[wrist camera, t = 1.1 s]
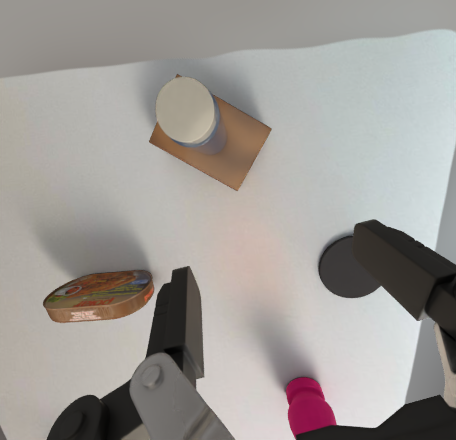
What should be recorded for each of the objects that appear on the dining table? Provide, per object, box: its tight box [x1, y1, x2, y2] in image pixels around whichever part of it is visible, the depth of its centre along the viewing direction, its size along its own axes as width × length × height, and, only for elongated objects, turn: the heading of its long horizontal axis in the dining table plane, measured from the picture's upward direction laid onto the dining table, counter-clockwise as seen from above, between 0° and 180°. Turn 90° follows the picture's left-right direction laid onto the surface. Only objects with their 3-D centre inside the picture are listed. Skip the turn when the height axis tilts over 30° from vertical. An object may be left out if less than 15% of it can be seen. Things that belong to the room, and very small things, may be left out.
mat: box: [319, 236, 381, 298], centre depth 32 cm, size 10×10×1 cm
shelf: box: [149, 74, 272, 191], centre depth 27 cm, size 8×12×5 cm, turn 61°
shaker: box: [155, 77, 228, 155], centre depth 19 cm, size 4×4×10 cm
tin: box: [43, 270, 154, 323], centre depth 31 cm, size 15×3×8 cm, turn 97°
